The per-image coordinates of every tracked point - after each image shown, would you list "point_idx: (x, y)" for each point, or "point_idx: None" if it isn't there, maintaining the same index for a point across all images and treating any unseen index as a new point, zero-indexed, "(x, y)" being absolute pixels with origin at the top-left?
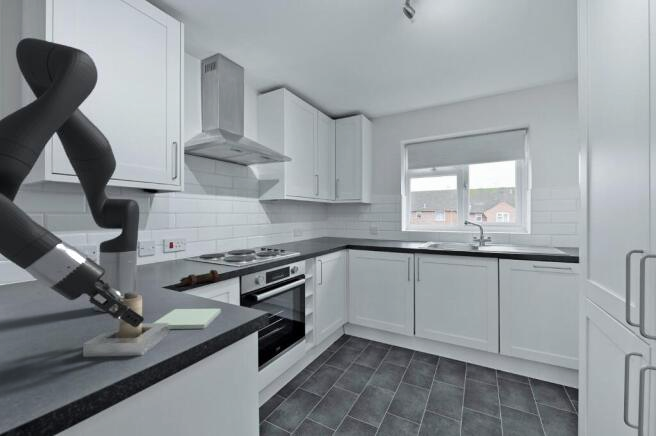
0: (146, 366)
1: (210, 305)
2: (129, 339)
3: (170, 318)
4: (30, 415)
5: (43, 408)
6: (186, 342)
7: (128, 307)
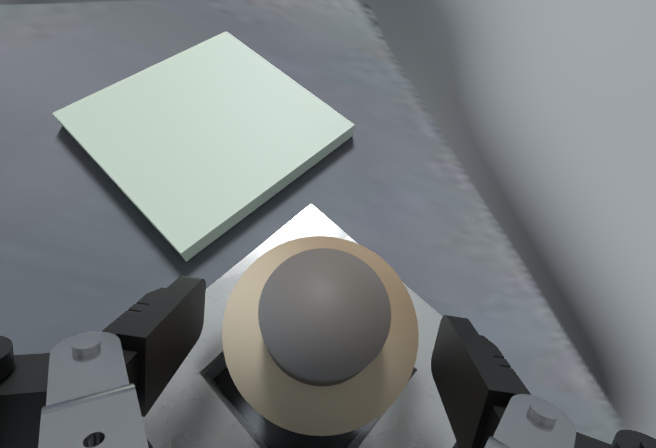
0: (590, 392)
1: (116, 28)
2: (419, 404)
3: (169, 168)
4: None
5: None
6: (444, 220)
7: (564, 413)
